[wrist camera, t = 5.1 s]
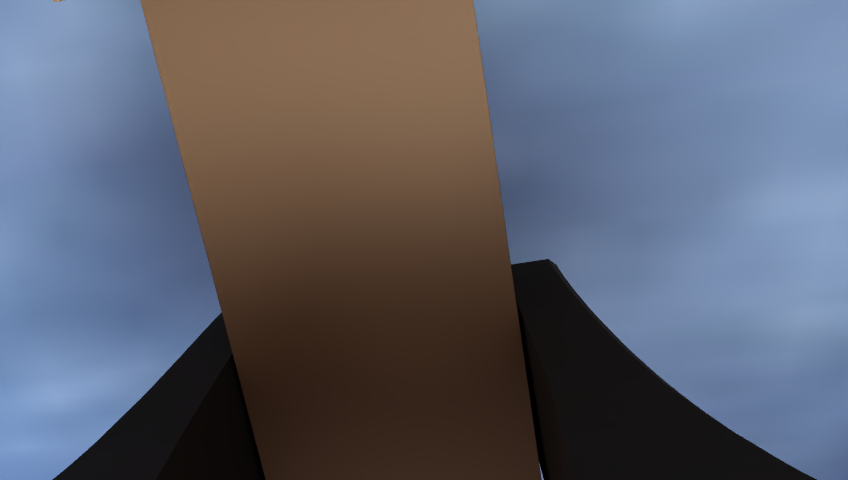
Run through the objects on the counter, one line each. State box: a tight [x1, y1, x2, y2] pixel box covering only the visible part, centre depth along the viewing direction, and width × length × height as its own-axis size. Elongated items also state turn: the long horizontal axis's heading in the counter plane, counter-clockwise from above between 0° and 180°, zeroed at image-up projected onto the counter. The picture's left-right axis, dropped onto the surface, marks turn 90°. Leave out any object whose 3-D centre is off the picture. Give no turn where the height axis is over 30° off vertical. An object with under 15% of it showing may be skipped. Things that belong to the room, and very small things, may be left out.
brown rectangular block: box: [141, 0, 541, 480], centre depth 12 cm, size 13×4×6 cm, turn 9°
